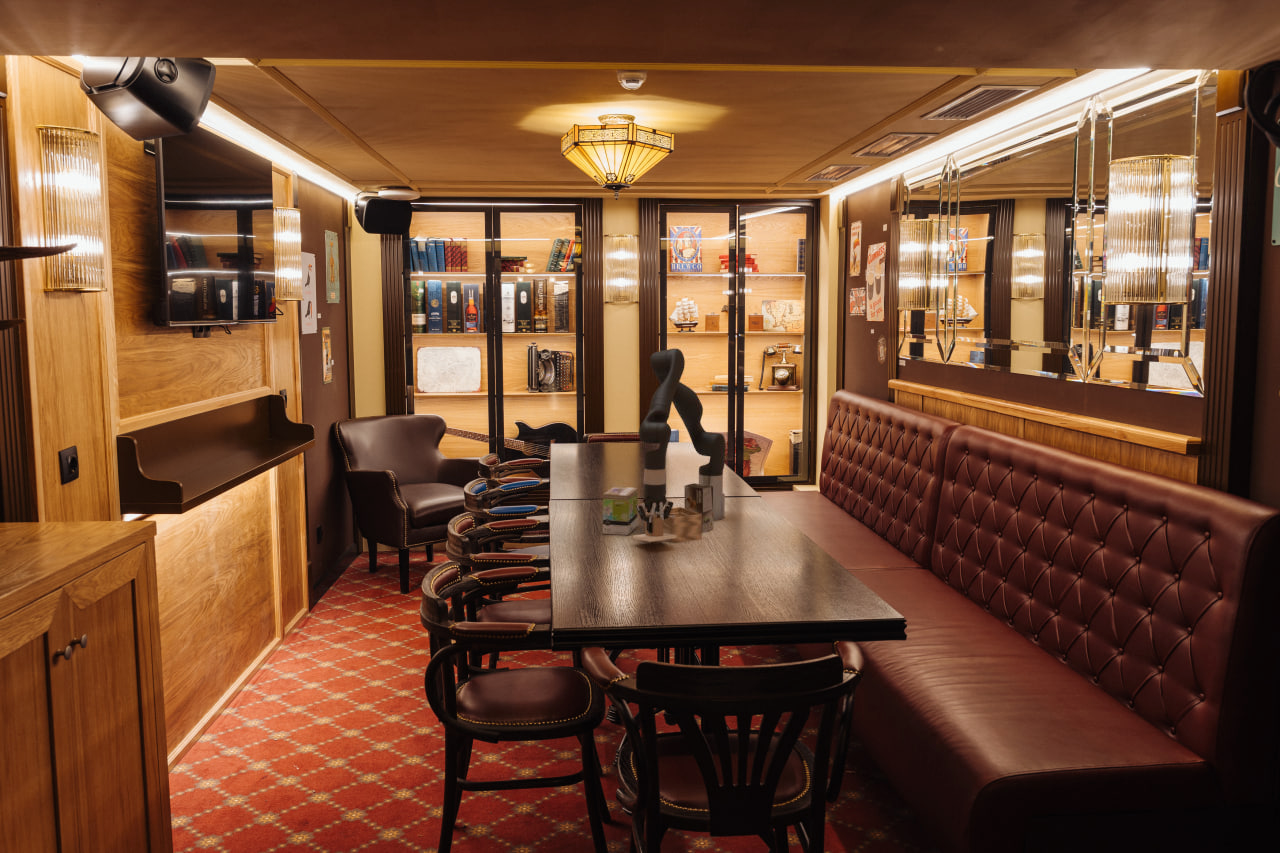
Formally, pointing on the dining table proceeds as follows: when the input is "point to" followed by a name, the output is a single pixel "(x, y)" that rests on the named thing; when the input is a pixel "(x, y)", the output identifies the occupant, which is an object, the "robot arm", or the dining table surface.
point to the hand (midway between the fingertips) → (654, 532)
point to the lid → (655, 532)
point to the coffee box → (700, 503)
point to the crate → (683, 525)
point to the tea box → (620, 510)
